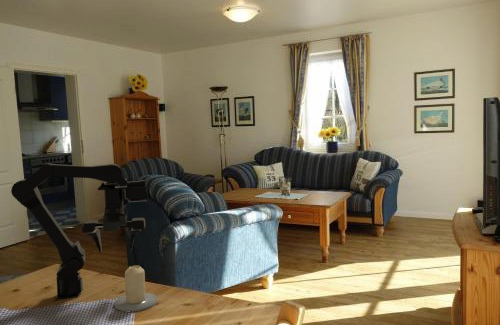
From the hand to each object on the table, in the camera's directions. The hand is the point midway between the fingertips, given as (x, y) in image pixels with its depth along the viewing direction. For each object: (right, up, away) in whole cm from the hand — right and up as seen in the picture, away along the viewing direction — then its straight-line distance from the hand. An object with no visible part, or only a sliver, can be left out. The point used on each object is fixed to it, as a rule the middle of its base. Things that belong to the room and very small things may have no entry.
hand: (115, 251), depth 130 cm
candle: (+10, -12, -12) cm, 19 cm away
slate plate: (+10, -13, -12) cm, 20 cm away
